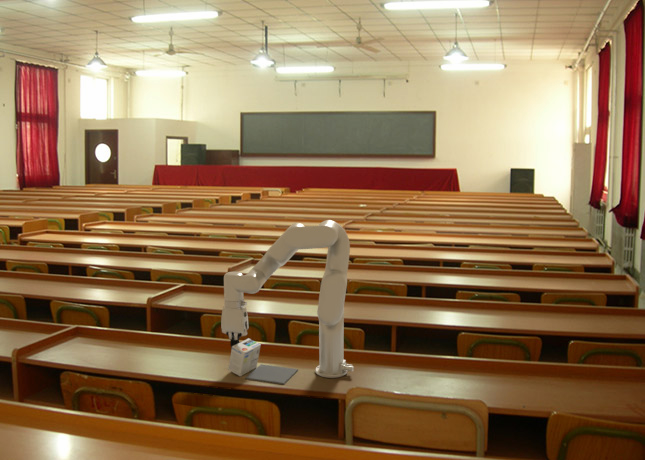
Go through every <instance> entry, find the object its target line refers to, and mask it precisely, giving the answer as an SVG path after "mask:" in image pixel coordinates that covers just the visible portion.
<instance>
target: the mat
mask: <svg viewBox="0 0 645 460" xmlns="http://www.w3.org/2000/svg"><path fill="white" fill-rule="evenodd" d="M298 371H299V369H297V368H290V367H285V366H275V365H270V364H263V363H261V364H260V365H259V366H257V367H256V368H255V369H253V370H252V371H250V373H249V374H248V375H247V376H245V380H251V381H257V382H264V381H265V382H264V383H270V382H272V383H271V384H277V383H278V384H279V385H285V384H286V383H287V382H288V381H289V380H290V379H292V377H293V376H295V375H296V374H297V372H298Z"/></svg>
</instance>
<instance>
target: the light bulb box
mask: <svg viewBox="0 0 645 460" xmlns="http://www.w3.org/2000/svg"><path fill="white" fill-rule="evenodd" d="M261 346H262V344H261V343H259V342H257V341H255V340H253V339H251V338H249V337H248V338H246V339H244V340H242V341H239V343H238V344H236V345H234V346H232V349H230V350H231V351H230V357H229V362H228V369H227V370H228V371H230V372H231V373H233V374H235V375H237V376H239V377H242V376H244V375H245V374H247V373H249V372H252V371H254V370H255V369H256V368H257V367H258V363H259V356H260V351H261Z"/></svg>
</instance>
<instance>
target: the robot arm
mask: <svg viewBox="0 0 645 460" xmlns="http://www.w3.org/2000/svg"><path fill="white" fill-rule="evenodd" d="M323 248H324V249H326V248H327V253H326V262H325V269H324V272H323V276H322V278H321V282H320V289H319V290H320V291H319V296H318V304H317V309H316V311H317V313H316V314H317V317H318V323H319V324H318V325H319V326H318V327H319V328H318V332H319V333H318V339H319V341H318V343H319V346H318V348H319V349H318V350H319V352H318V353H319V357H318V358H319V362H318V363H319V365H317V366H316V367H315V373H316V374H317V376H319V377H323V378H328V379H329V378H330V379H335V378H336V379H337V378H342V377H344V376H345V375H347V373H348V372H354V369H355V367H354V366H353V364H351V363H350V364H349V363H347V362H346V361H347V360H346V359H344V358H345V357H344V354H345V353H344V350H345V349H344V348H345V347H344V334H345V333H344V331H345V330H344V326H345V324H344V322H345V321H344V320H345V319H344V318H345V301H346V300H345V299H346V293H347V286H348V272H349V271H348V270H349V262H350V252H351V249H350V248H351V243H350V239H349V236H348V233H347V231H346V230H345V228H343V226H341V225H340V224H339V223H338V222H336V221H334V220H331V219H327V220H326V219H325V220H323V221H322V222H320V223H319V224H318V225H309V226H308V225H307V226H305V225H304V224H303V223H300V222H296V223H292V224H291V225H290V226H289V227H287V229H286V230H285V231H284V232H283V233H282V234H281V235H280V236H279V237H278V238H277V240H276V241H275V242H273V244H272V245H271V246H270V247H269V248H268V249H267V251H266V252H265V254H264V255H263V256H262V257H261V258H260V260H259V261H258V262H256V264H255V265H254V266H253V267H252V268H251V269H250V270H249V271H248V272H247V274H243V273H242V272H241V271H229V272H226V273H225V274H224V276H223V295H224V297H223V298H224V301H223V302H224V303H223V304H224V305H223V307H222V311H221V318H220V320H221V321H220V323H221V324H220V325H221V333H222V334H225V335H226V336H227V337H228V339H229V340H230V341H229V342H230V350H232V346H234V345H236V344H238V343H240V339H241V337H246V336H247V335H248V330H249V316H248V311H247V301H245V296H244V293H245V294H250V295H251V294H256V293H259V291H260V290H261V288H262V287H263V286H264V284H265V283H266V282H267V280H269V279H270V277H271V276H272V275H273V274H274V273H275V272H276V271H277V270H278V269H279V268H281V267H284V265H286V264H287V262H288V261H289V260H290V259H291V258H292V257H293V256H294V255H295V254H296V253H297V251H299V250H310V249H311V250H312V249H323Z"/></svg>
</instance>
